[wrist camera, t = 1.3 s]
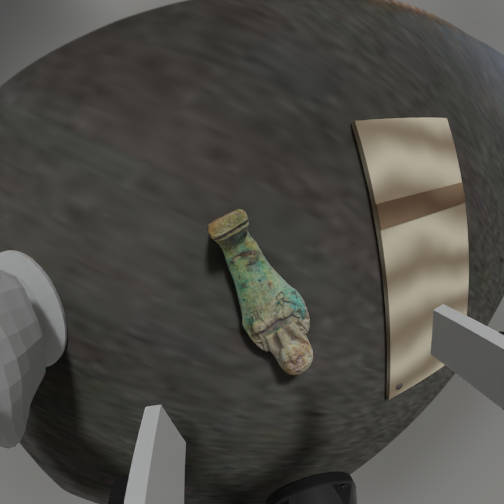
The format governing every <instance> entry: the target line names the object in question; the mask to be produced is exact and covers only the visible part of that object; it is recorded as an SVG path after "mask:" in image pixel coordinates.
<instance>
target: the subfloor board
mask: <svg viewBox="0 0 504 504" xmlns="http://www.w3.org/2000/svg"><path fill="white" fill-rule="evenodd" d="M351 125H352V128H353V132H354V135H355V139H356V142H357V146H358V150H359V153H360V157H361V161H362V165H363V169H364V173H365V177H366V182H367V186H368V191H369V196H370V200H371V205H372V211H373V216H374V222H375V227H376V233H377V240H378V246H379V254H380V261H381V269H382V278H383V289H384V300H385V315H386V336H387V386H386V396H387V398H388V399H391V398H392V397H394V396H396V395H398V394H400V393H401V392H403V391H405V390H407V389H408V388H410V387H412V386H413V385H415V384H417V383H418V382H420V381H422V380H423V379H425V378H426V377H428V376H429V375H431V374H432V373H434V372H435V371H437V370H438V369H440V368H441V367H443V366H444V364H443V363H442V362H440V361H439V360H438V359H436V358H435V357H434V356H432V355H431V354H430V352H431V341H432V327H433V310H434V309H436V308H437V307H439V306H441V305H443V304H444V305H446V306H448V307H450V308H452V309H454V310H456V311H458V312H460V313H462V314H464V315H466V316H467V304H468V285H469V250H468V231H467V219H466V209H465V196H464V189H463V183H462V181H461V175H460V169H459V164H458V160H457V155H456V151H455V146H454V142H453V138H452V134H451V131H450V127H449V124H448V120H447V118H392V119H375V120H362V121H354V122H352V123H351Z"/></svg>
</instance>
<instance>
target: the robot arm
mask: <svg viewBox="0 0 504 504" xmlns="http://www.w3.org/2000/svg"><path fill="white" fill-rule="evenodd" d="M430 354H431V355H432V356H434V357H435V358H436V359H438V360H439V361H440V362H442V363H443V364H444V365H446V366H447V367H448V368H450V369H451V370H452V371H454V372H455V373H456V374H458V375H459V376H460V377H462V378H463V379H464V380H466V381H467V382H468V383H470V384H471V385H472V386H474V387H475V388H476V389H477V390H479V391H480V392H481V393H483V394H484V395H485V396H486V397H488V398H489V399H490V400H492V401H493V402H494V403H495V404H497V405H498V406H499V407H500V408H502V409H503V410H504V332H501V331H500V332H497V331H495V330H492V329H491V328H489V327H487V326H485V325H483V324H481V323H479V322H478V321H476V320H474V319H472V318H470V317H468V316H466V315H464V314H462V313H460V312H458V311H456V310H454V309H452V308H450V307H448V306H446V305H444V304H443V305H441V306H439V307H437V308H436V309H434V310H433V327H432V341H431V352H430ZM185 452H186V442H185V440H184V439H183V438H182V436H181V435H180V433H179V432H178V430H177V429H176V427H175V426H174V424H173V423H172V421H171V420H170V418H169V417H168V415H167V413H166V412H165V410H164V409H163V407H162V405H155V406H148V407H145V411H144V414H143V418H142V422H141V426H140V430H139V434H138V438H137V443H136V447H135V451H134V456H133V460H132V465H131V469H130V474H129V476H120V475H119V476H118V478H117V479H116V480H115V482H114V483H113V485H112V489H111V493H110V496H111V497H109V502H108V504H184V479H185ZM266 504H357V497H356V486H355V483H354V481H353V479H352V478H351V476H350V475H349V474H347V473H343V472H331V473H324V474H319V475H315V476H311V477H308V478H305V479H302V480H299V481H296V482H294V483H291V484H289V485H287V486H285V487H283V488H281V489H279V490H278V491H276V492H275V493H273V494H272V495H271V496H270V497H269V498H268V500H267V503H266Z"/></svg>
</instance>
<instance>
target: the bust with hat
mask: <svg viewBox="0 0 504 504" xmlns="http://www.w3.org/2000/svg"><path fill="white" fill-rule="evenodd" d="M66 342H67V323H66V317H65V313H64V309H63V306H62V302H61V300H60V298H59V295H58V293H57V291H56V289H55V287H54V285H53V284H52V282H51V280H50V278H49V277H48V276H47V274H46V273H45V272H44V270H43V269H42V268H41V267H40V266H39V265H38V264H37V263H36V262H35V261H34V260H33V259H32V258H30V257H29V256H27V255H26V254H24V253H21V252H19V251H12V250H9V251H5V252H1V253H0V446H1V447H5V448H11V447H14V446H16V445H17V444H18V443H19V442H20V441H21V439H22V437H23V435H24V433H25V429H26V423H27V419H28V415H29V409H30V404H31V402H32V399H33V397H34V395H35V393H36V391H37V389H38V387H39V385H40V383H41V381H42V379H43V377H44V375H45V373H46V367H48V366H51V365H52V364H54V363H56V362H57V360H58V359H59V358H60V357H61V356H62V354H63V352H64V350H65V347H66Z"/></svg>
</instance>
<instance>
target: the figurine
mask: <svg viewBox="0 0 504 504" xmlns="http://www.w3.org/2000/svg"><path fill="white" fill-rule="evenodd" d="M248 225H249V222H248V217H247V215H246V213H245V212H244V211H243V210H240V209H237V210H235V211H232V212H230V213H228V214H226V215H224V216H222V217H220V218H218V219H215V220H213V221H211V222H210V224H208V226H207V228H208V232H209V235H210V237H211V238H212V239H213V240H214V241H216V242H217V243H218V244H219V245H220V247H221V248H222V250H223V253H224V256H225V260H226V263H227V266H228V268H229V271H230V273H231V275H232V278H233V281H234V284H235V287H236V291H237V295H238V300H239V304H240V307H241V313H242V325H243V327H244V329H245V331H246V332H247V334H248V335H249V337H250V338H251V340H252V341H253V342H254V343H255V344H256V345H257V346H258V347H259V348H260V349H262V350H265V351H271V353H272V354H273V355H274V357H275V358H276V360H277V361H278V363H279V365H280V366H281V368H282V369H283V370H284V371H285V372H286V373H287V374H290V375H299V374H301V373H303V372H304V371H306V370H307V369H308V368H309V367H310V365H311V363H312V360H313V351H312V348H311V345H310V343H309V340H308V338H307V337H306V335H305V334H306V333H307V332H308V331H309V321H310V319H309V314H308V310H307V308H306V306H305V303H304V300H303V298H302V297H301V296H300V294H299V293H298V292H297V291H296V290H295V289H294V288H293V287H291V286H290V285H289V284H288V283H286V281H285V280H284V279H283V278H282V277H281V276H280V275H279V274H278V273H277V272H276V271H275V270H274V269H273V268H272V267H271V266H270V264H269V263H268V262H267V260H266V258H265V257H264V255H263V253H262V252H261V250H260V248H259V246H258V245H257V243H256V242H255V241H254V239H253V238H252V237H251V236H250V234H249V232H248V228H247V227H248Z"/></svg>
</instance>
